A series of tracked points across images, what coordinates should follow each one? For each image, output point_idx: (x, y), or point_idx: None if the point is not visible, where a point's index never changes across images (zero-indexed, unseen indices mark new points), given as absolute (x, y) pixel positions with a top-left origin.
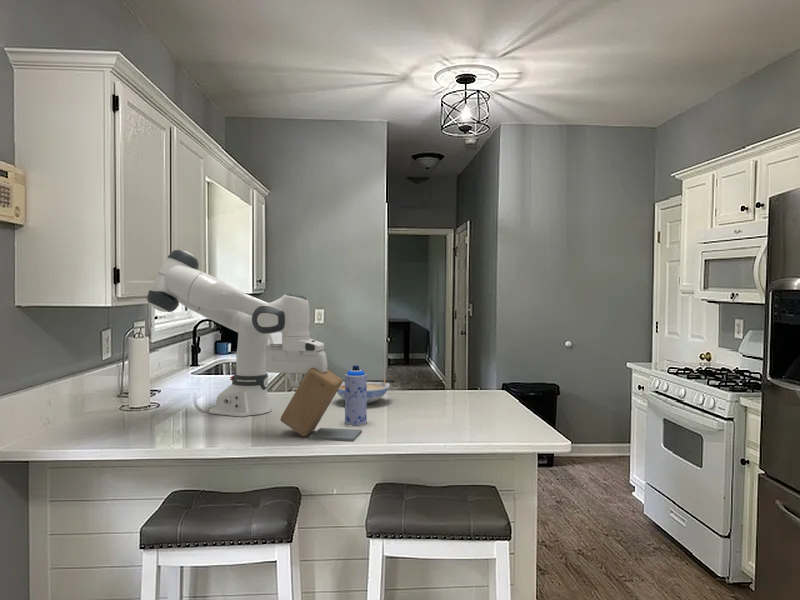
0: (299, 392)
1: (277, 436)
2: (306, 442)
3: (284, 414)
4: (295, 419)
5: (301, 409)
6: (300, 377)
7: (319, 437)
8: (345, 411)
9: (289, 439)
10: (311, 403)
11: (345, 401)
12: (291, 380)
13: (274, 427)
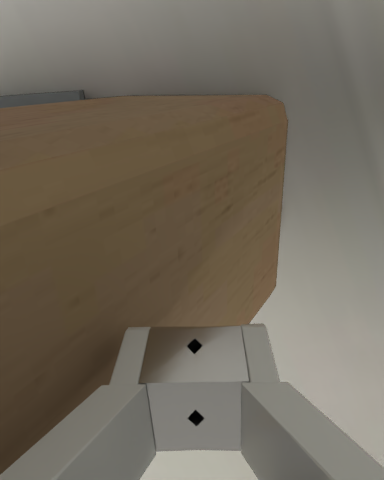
0: (31, 129)
1: (281, 96)
2: (64, 12)
3: (252, 100)
4: (156, 99)
5: (84, 108)
6: (41, 472)
7: (23, 95)
8: None
9: (189, 51)
10: None
11: None
12: (269, 401)
13: (353, 258)
